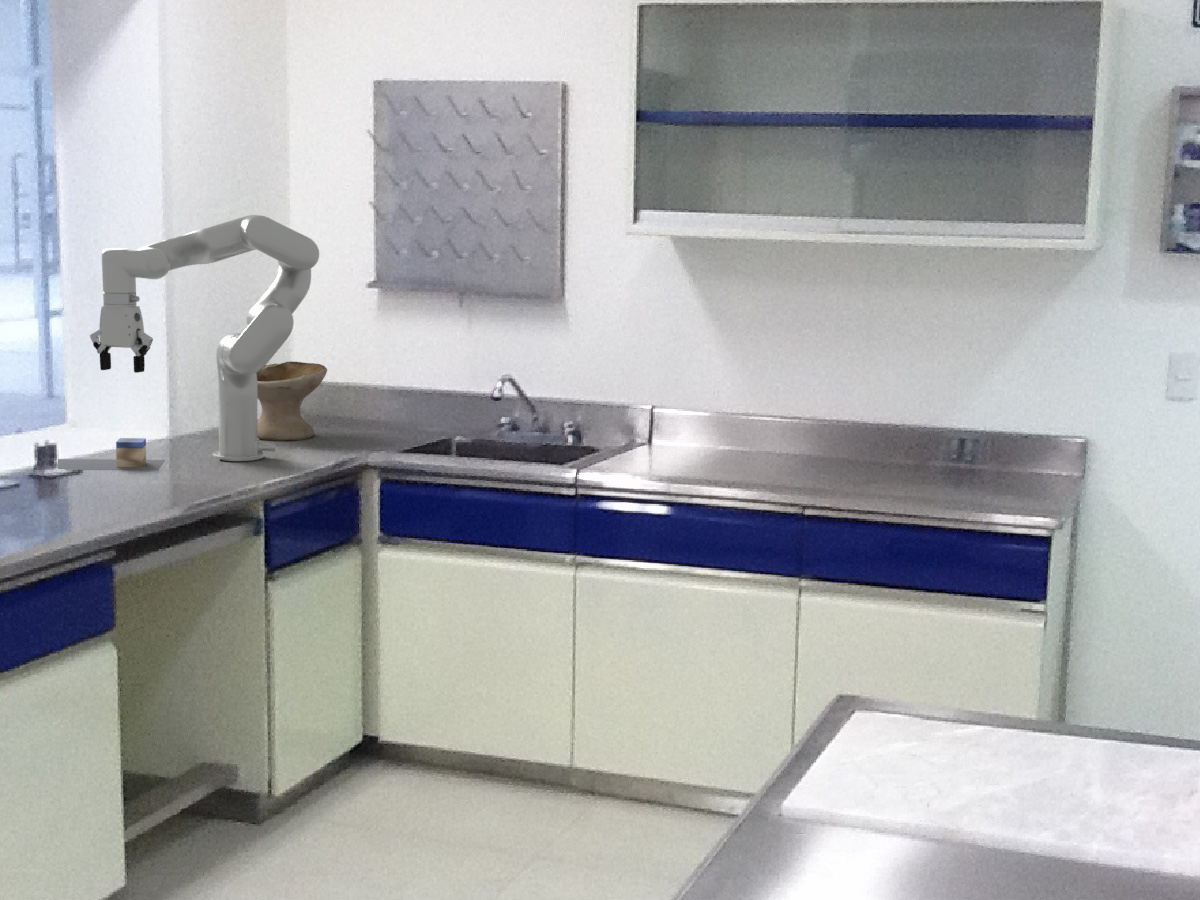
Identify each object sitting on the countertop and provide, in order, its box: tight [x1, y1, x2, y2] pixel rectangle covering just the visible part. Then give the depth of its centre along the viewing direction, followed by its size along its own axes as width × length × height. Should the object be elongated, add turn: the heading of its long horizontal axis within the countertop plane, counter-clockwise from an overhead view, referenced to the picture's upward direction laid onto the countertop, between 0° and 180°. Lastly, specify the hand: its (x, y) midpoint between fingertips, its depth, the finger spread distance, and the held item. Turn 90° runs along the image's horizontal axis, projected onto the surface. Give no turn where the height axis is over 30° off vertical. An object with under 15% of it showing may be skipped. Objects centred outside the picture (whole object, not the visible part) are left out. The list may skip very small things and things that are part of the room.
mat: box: [57, 458, 166, 471], centre depth 334 cm, size 26×14×1 cm, turn 100°
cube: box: [115, 437, 147, 467], centre depth 334 cm, size 6×6×6 cm
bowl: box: [256, 361, 328, 442], centre depth 388 cm, size 26×25×20 cm
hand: (122, 370), depth 336 cm, fingers open, 9 cm apart
